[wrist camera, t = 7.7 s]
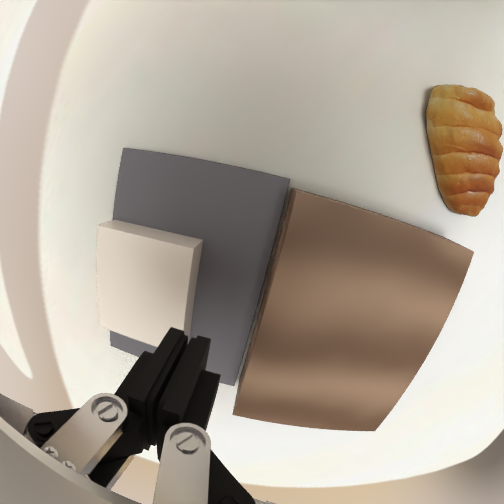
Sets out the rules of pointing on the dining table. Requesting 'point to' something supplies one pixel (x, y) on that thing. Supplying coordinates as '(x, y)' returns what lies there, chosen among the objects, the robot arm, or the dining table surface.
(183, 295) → the tile
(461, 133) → the pastry
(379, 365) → the serving board
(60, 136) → the dining table surface
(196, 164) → the mat
